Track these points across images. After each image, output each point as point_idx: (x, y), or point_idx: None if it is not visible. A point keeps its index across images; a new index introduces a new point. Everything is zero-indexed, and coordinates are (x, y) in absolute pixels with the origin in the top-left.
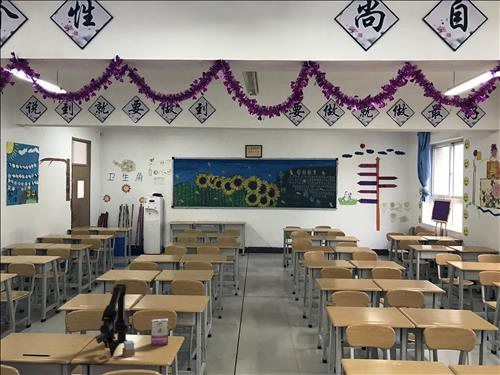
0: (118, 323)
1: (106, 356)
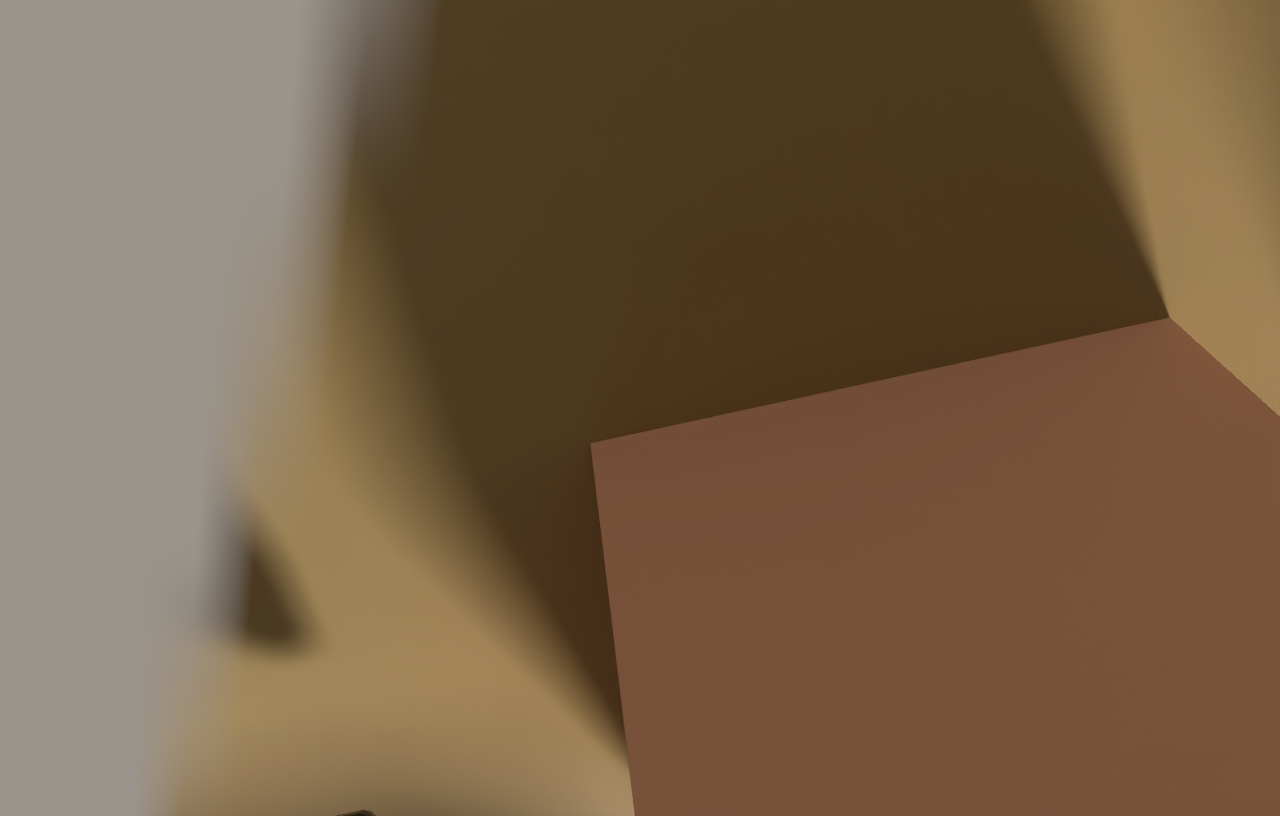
0: None
1: (637, 498)
